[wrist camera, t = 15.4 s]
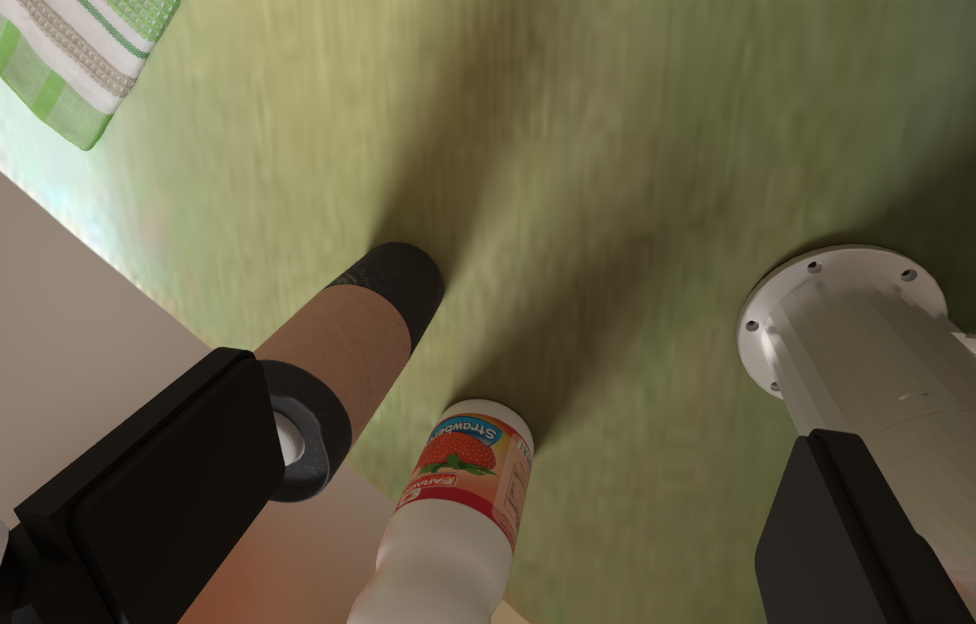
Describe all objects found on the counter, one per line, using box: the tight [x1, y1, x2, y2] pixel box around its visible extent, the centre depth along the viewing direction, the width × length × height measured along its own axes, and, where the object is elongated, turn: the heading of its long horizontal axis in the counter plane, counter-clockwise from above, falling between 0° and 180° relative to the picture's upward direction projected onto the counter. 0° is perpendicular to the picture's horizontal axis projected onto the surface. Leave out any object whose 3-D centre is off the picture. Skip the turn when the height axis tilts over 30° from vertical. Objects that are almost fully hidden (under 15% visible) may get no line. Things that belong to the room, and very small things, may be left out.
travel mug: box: [253, 242, 443, 503], centre depth 35 cm, size 8×8×20 cm
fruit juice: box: [347, 399, 534, 624], centre depth 38 cm, size 9×9×28 cm
